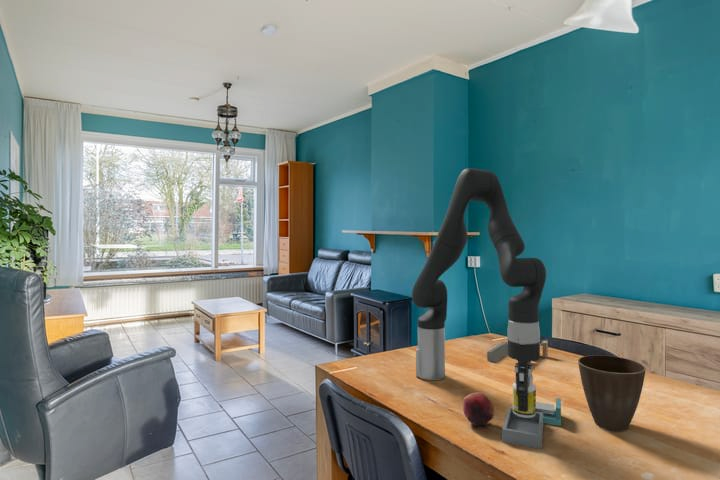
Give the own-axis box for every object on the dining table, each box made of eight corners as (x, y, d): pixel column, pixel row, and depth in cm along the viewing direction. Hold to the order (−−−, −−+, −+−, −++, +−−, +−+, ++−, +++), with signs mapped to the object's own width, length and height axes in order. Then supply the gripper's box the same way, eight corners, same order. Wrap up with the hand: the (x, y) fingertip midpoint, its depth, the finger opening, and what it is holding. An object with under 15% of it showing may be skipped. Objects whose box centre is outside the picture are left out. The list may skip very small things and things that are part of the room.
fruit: (492, 419, 115) (492, 389, 115) (495, 432, 108) (495, 401, 107) (463, 416, 117) (462, 387, 117) (463, 429, 109) (463, 398, 109)
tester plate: (530, 411, 115) (530, 407, 115) (531, 404, 119) (531, 401, 119) (554, 414, 113) (553, 410, 112) (554, 408, 117) (554, 404, 116)
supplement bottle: (538, 419, 104) (537, 379, 104) (514, 417, 105) (514, 378, 105) (533, 410, 109) (533, 371, 109) (511, 408, 111) (511, 370, 110)
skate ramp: (497, 346, 187) (497, 329, 187) (587, 360, 166) (587, 341, 165) (469, 363, 164) (469, 344, 164) (570, 383, 142) (570, 360, 142)
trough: (502, 441, 103) (502, 429, 103) (508, 418, 115) (508, 407, 115) (541, 448, 99) (541, 436, 99) (543, 424, 112) (543, 412, 112)
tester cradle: (523, 419, 114) (523, 403, 114) (525, 409, 121) (525, 393, 121) (561, 426, 111) (560, 408, 111) (560, 415, 117) (560, 398, 117)
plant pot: (618, 444, 101) (618, 376, 101) (565, 419, 115) (565, 359, 114) (659, 431, 107) (659, 367, 107) (603, 408, 121) (604, 352, 120)
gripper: (510, 330, 115) (510, 393, 115) (504, 344, 102) (504, 415, 102) (541, 333, 112) (541, 397, 112) (538, 347, 99) (539, 420, 99)
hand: (523, 405), depth 107 cm, fingers closed on supplement bottle, 5 cm apart
